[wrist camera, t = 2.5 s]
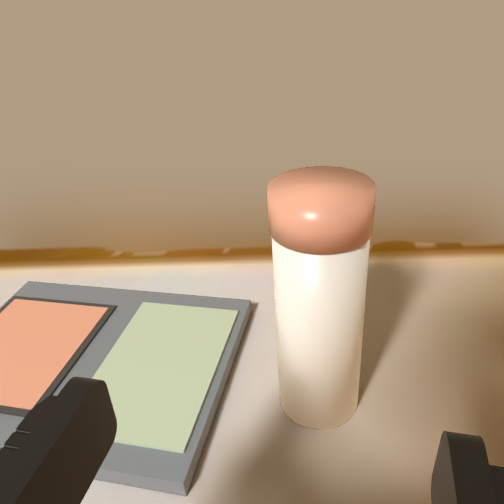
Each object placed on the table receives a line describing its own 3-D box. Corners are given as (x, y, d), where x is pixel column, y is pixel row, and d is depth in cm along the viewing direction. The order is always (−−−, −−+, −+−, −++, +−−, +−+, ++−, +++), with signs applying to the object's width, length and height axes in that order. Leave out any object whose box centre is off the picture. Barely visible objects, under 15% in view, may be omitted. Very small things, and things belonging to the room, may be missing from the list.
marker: (360, 372, 28) (376, 167, 22) (358, 437, 25) (376, 212, 18) (284, 363, 29) (277, 165, 23) (271, 424, 26) (257, 207, 19)
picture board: (251, 311, 34) (250, 297, 33) (186, 496, 22) (182, 480, 22) (32, 291, 38) (27, 278, 37) (-119, 439, 26) (-130, 425, 26)
